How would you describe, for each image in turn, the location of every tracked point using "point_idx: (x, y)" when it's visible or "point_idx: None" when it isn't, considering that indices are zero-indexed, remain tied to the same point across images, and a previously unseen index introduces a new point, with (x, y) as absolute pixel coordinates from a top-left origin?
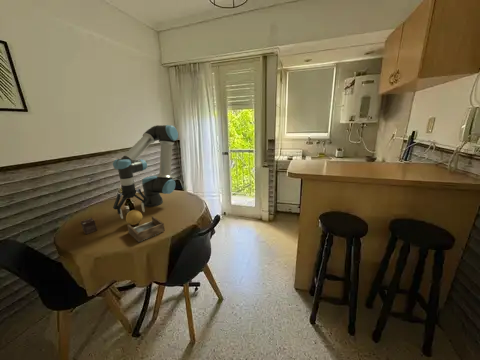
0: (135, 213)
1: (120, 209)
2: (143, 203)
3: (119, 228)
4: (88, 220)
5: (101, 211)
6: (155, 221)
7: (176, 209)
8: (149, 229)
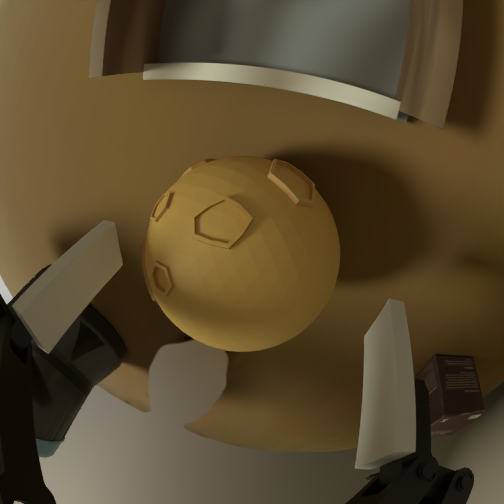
0: (213, 241)
1: (410, 447)
2: (19, 298)
3: (382, 268)
4: (444, 427)
5: (280, 433)
6: None
7: (12, 164)
8: None
